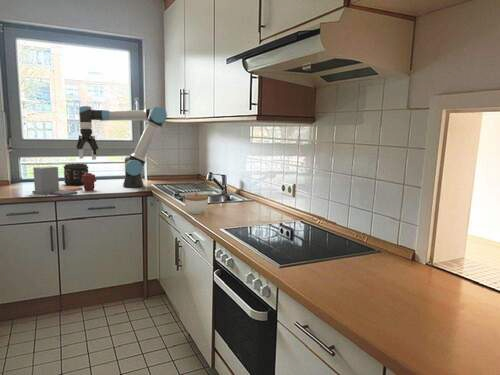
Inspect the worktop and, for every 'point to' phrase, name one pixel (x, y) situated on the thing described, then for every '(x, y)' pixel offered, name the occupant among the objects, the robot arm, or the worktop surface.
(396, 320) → the worktop surface
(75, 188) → the terracotta pad
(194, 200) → the lidded bowl
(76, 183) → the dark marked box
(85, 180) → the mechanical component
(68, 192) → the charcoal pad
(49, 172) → the grey unit
